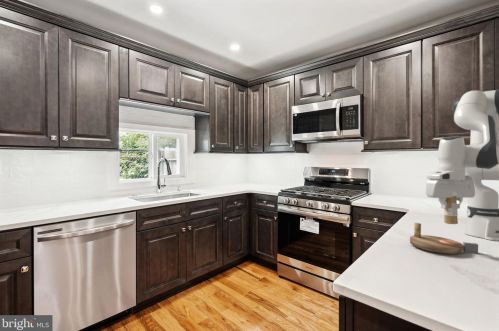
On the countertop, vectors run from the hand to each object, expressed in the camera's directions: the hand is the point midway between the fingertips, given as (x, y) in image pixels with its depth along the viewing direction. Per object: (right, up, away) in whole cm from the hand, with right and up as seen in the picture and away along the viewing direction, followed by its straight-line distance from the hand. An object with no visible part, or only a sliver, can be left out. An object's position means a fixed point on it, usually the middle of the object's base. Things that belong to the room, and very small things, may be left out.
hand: (450, 208), depth 103 cm
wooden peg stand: (-5, -17, +2) cm, 18 cm away
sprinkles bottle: (0, -6, 0) cm, 6 cm away
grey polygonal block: (+6, -17, -2) cm, 19 cm away
